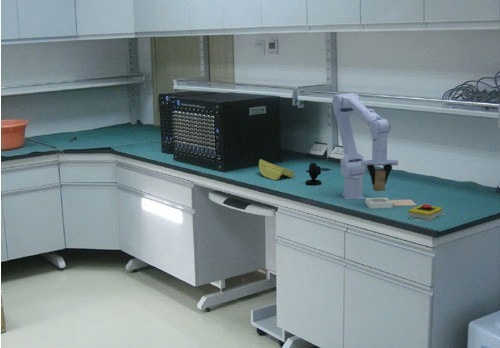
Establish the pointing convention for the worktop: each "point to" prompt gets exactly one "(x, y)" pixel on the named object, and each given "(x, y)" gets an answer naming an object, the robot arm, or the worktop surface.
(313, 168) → the webcam
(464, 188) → the worktop surface
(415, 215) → the emergency button
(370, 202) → the pocket block
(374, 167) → the robot arm
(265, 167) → the plastic component
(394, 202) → the pad
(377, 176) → the peg
